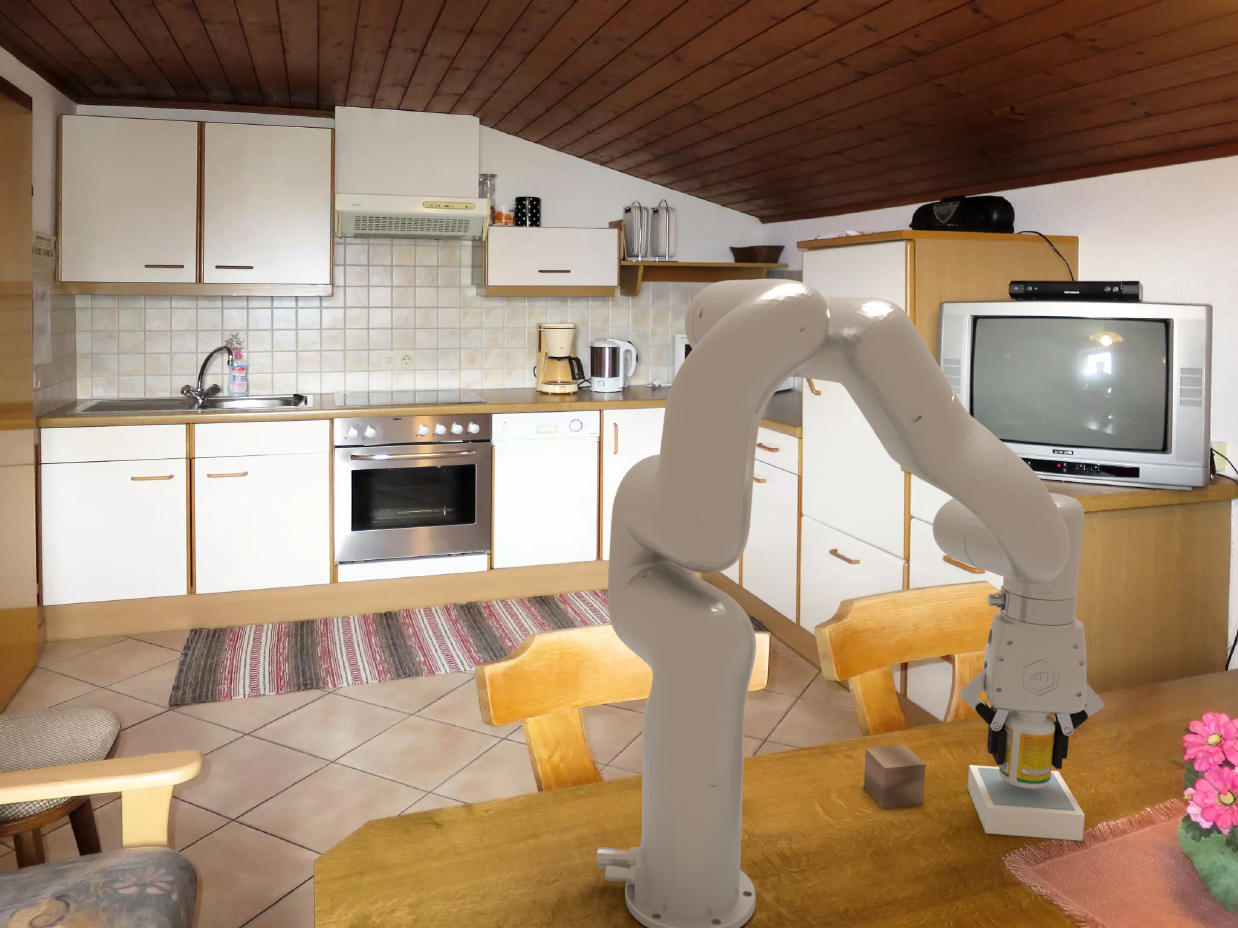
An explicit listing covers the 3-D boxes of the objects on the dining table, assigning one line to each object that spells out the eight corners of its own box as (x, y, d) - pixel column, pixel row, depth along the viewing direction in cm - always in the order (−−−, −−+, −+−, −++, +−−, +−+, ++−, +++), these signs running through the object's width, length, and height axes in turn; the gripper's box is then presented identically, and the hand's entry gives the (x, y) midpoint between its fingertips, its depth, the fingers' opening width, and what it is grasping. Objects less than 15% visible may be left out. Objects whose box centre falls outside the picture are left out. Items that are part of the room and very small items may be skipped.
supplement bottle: (989, 776, 112) (995, 696, 110) (1014, 762, 115) (1020, 684, 114) (1035, 795, 108) (1041, 712, 106) (1059, 780, 111) (1066, 699, 110)
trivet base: (985, 832, 108) (987, 806, 108) (967, 788, 118) (969, 763, 117) (1082, 840, 107) (1084, 813, 106) (1056, 794, 117) (1058, 769, 116)
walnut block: (882, 808, 113) (885, 767, 113) (863, 787, 118) (865, 748, 117) (923, 804, 114) (925, 764, 114) (902, 783, 119) (905, 744, 118)
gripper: (963, 613, 106) (952, 771, 109) (1134, 621, 103) (1118, 783, 106) (950, 592, 113) (941, 741, 116) (1110, 599, 111) (1095, 751, 114)
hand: (1025, 759), depth 111 cm, fingers closed on supplement bottle, 5 cm apart
